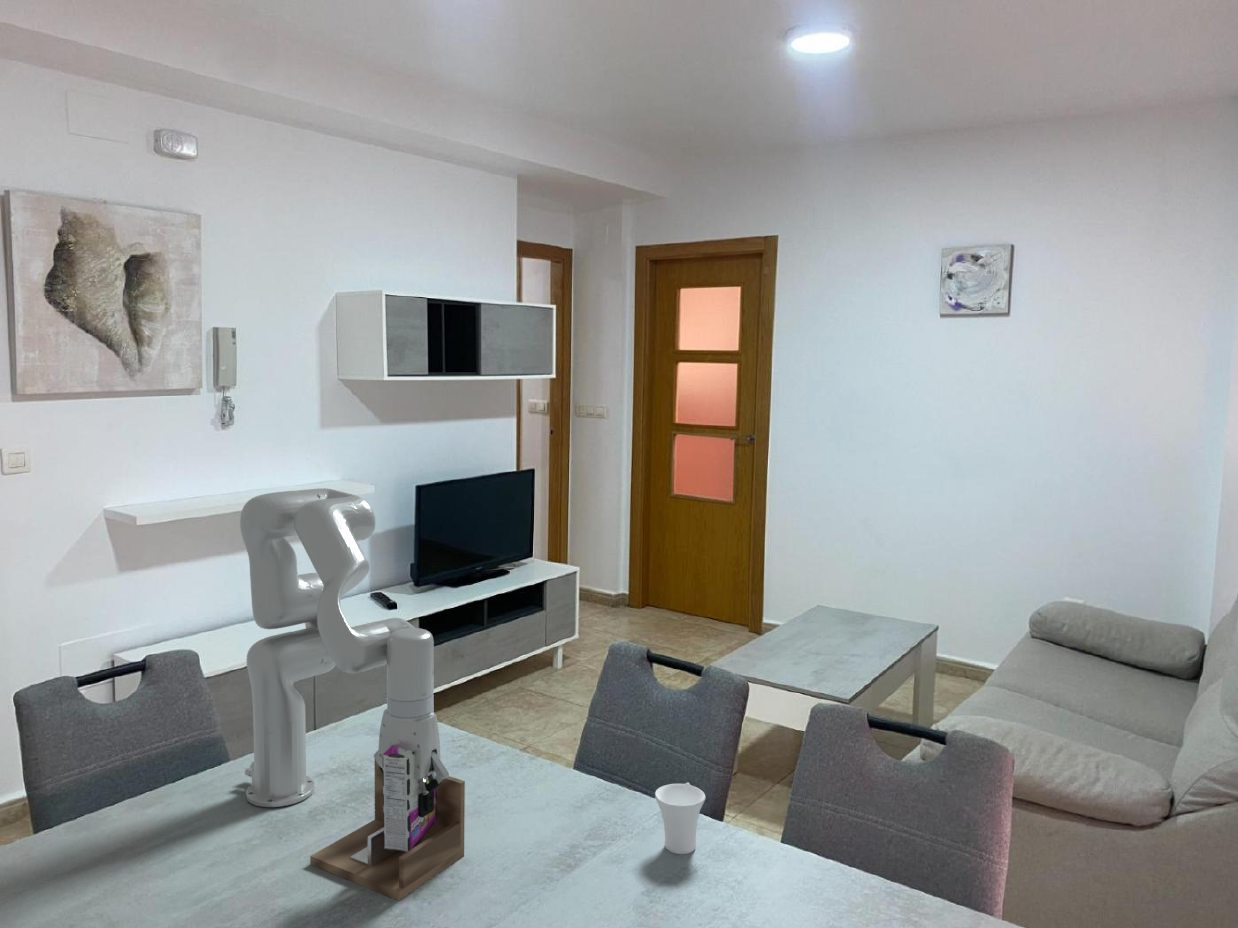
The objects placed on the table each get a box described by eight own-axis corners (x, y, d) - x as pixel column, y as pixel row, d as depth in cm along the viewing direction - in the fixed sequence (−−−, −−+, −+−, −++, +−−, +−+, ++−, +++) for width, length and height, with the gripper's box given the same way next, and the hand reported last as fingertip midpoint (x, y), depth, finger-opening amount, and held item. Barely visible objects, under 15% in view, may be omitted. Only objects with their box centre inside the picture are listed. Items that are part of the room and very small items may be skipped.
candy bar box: (410, 817, 161) (411, 726, 159) (437, 821, 160) (438, 729, 158) (380, 849, 150) (381, 752, 148) (409, 853, 149) (410, 756, 147)
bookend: (350, 858, 156) (350, 830, 155) (392, 833, 164) (392, 806, 164) (371, 866, 153) (371, 837, 153) (412, 840, 162) (412, 813, 161)
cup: (710, 839, 168) (712, 787, 167) (692, 864, 159) (694, 808, 158) (665, 828, 171) (667, 776, 170) (645, 851, 163) (647, 797, 162)
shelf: (310, 864, 156) (309, 787, 155) (378, 824, 170) (378, 754, 169) (399, 900, 146) (399, 819, 145) (464, 855, 160) (464, 780, 159)
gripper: (355, 700, 154) (356, 804, 156) (435, 722, 145) (435, 831, 147) (387, 687, 160) (388, 787, 162) (466, 707, 152) (465, 812, 154)
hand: (410, 807), depth 155 cm, fingers closed on candy bar box, 6 cm apart
